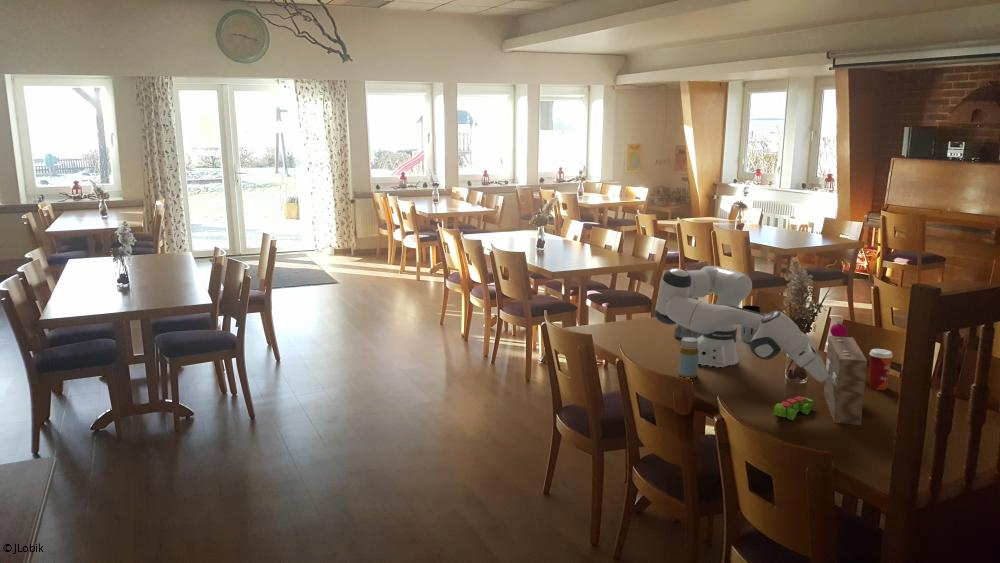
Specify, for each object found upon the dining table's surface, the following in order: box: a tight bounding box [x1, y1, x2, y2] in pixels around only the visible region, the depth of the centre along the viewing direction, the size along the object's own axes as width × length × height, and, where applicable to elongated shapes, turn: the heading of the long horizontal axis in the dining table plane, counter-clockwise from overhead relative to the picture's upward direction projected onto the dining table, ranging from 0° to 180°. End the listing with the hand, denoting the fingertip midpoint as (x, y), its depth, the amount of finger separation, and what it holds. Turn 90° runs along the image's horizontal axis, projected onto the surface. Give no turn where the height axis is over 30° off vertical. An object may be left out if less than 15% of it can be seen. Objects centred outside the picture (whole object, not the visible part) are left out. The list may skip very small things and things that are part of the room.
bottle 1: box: [674, 298, 703, 339], centre depth 332 cm, size 13×13×28 cm
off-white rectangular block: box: [833, 372, 837, 386], centre depth 242 cm, size 6×5×3 cm
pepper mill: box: [825, 320, 848, 360], centre depth 288 cm, size 7×7×20 cm
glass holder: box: [738, 305, 761, 343], centre depth 326 cm, size 9×14×15 cm, turn 148°
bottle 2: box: [678, 337, 699, 379], centre depth 283 cm, size 7×7×15 cm
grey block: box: [825, 359, 830, 372], centre depth 255 cm, size 6×5×3 cm
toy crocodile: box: [773, 395, 814, 421], centre depth 247 cm, size 20×7×6 cm, turn 123°
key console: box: [823, 335, 868, 426], centre depth 248 cm, size 8×26×22 cm, turn 164°
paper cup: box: [868, 348, 894, 391], centre depth 268 cm, size 8×8×14 cm
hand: (831, 380), depth 243 cm, fingers closed, pressing on off-white rectangular block
